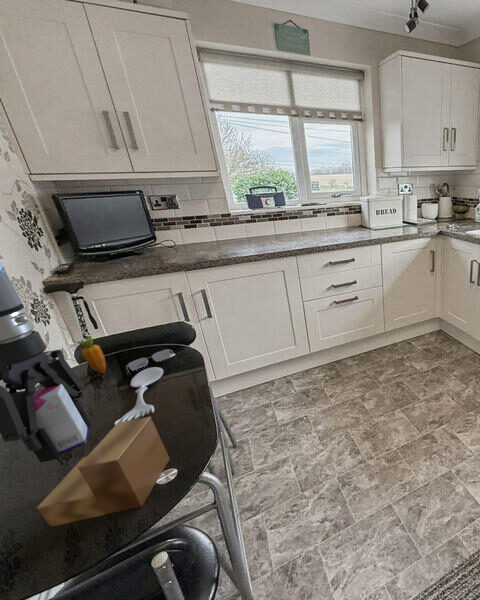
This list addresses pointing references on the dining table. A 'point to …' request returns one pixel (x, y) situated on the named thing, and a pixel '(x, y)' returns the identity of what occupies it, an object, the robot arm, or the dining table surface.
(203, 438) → the dining table surface
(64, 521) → the wooden stepped block
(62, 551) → the dining table surface
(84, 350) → the carrot
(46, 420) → the supplement box
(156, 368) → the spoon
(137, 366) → the eyeglasses
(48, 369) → the robot arm
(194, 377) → the dining table surface
